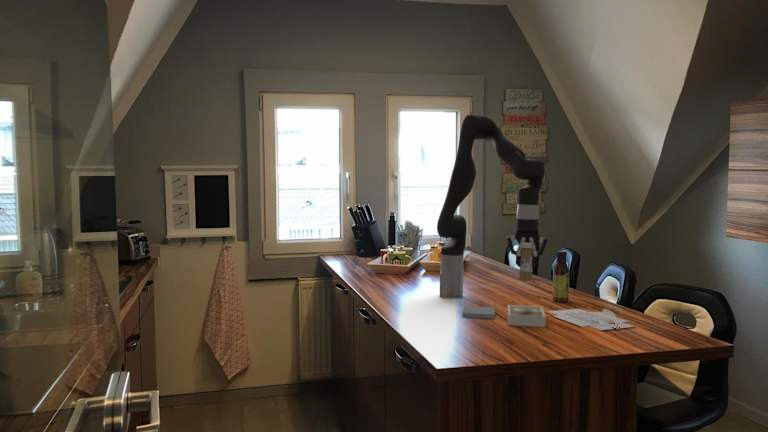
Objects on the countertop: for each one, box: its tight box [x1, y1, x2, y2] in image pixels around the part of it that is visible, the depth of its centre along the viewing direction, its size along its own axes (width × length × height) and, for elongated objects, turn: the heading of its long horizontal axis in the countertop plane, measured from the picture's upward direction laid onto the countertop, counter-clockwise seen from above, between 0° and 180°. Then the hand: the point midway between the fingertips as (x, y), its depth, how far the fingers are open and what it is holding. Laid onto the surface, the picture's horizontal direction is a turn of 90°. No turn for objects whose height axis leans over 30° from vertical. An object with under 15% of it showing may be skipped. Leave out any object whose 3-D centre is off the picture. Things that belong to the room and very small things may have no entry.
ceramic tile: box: [462, 305, 496, 319], centre depth 216 cm, size 11×11×2 cm
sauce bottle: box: [552, 250, 570, 303], centre depth 239 cm, size 7×6×20 cm
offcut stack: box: [513, 308, 538, 316], centre depth 203 cm, size 9×5×5 cm, turn 79°
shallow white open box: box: [506, 304, 547, 328], centre depth 207 cm, size 12×15×4 cm
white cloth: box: [548, 308, 635, 331], centre depth 210 cm, size 20×28×4 cm
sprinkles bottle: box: [518, 242, 534, 282], centre depth 209 cm, size 5×5×14 cm
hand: (526, 266), depth 209 cm, fingers closed on sprinkles bottle, 4 cm apart
